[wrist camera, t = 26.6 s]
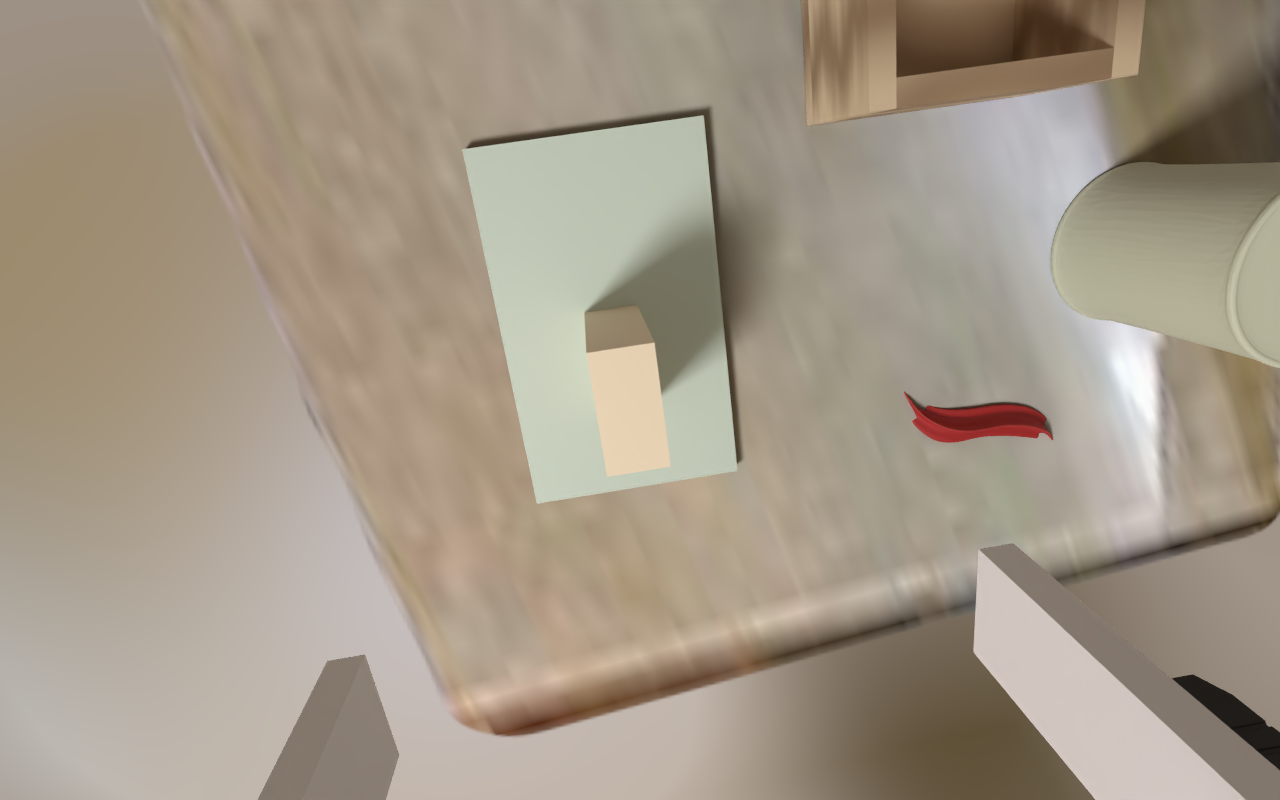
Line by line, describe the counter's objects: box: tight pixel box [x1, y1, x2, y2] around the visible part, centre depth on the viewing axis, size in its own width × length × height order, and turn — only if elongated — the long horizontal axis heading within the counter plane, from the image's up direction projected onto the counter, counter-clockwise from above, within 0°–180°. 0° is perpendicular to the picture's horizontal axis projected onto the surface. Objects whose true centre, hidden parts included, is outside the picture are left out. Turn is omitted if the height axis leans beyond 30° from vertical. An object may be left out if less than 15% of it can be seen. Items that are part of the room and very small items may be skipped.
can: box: [1051, 162, 1280, 368], centre depth 34 cm, size 9×9×12 cm
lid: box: [462, 115, 737, 503], centre depth 34 cm, size 21×13×10 cm, turn 8°
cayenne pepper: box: [904, 392, 1053, 442], centre depth 42 cm, size 12×5×2 cm, turn 63°
